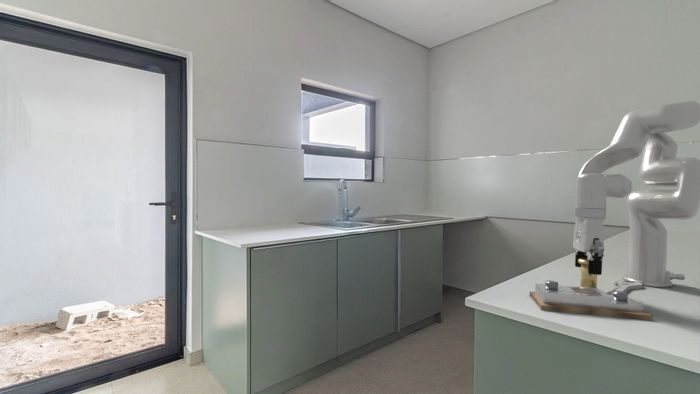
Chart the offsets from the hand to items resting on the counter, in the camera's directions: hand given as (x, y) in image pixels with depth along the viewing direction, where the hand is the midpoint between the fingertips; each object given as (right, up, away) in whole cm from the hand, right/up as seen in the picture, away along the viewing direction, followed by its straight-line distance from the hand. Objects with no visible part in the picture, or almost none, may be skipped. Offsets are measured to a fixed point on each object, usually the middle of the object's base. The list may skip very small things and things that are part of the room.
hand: (587, 270), depth 100 cm
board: (-9, -7, -11) cm, 16 cm away
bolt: (+1, -7, 0) cm, 7 cm away
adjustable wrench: (+12, -8, +3) cm, 14 cm away
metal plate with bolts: (-9, -6, -11) cm, 16 cm away
